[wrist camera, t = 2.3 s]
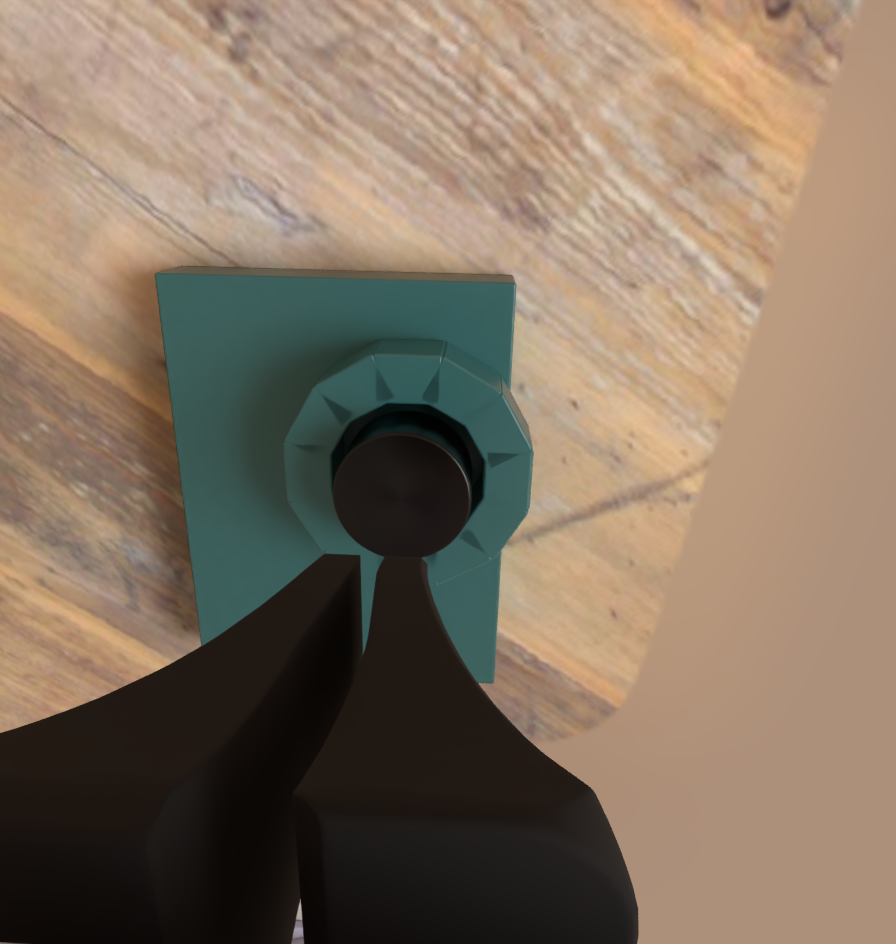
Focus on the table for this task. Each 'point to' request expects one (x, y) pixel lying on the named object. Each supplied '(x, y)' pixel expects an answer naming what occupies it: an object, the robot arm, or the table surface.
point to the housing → (336, 425)
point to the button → (404, 485)
